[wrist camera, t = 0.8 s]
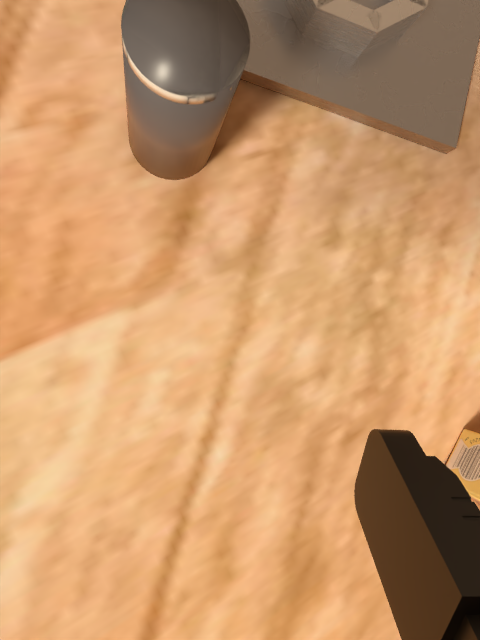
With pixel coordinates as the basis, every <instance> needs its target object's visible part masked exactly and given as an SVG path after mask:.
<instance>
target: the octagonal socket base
mask: <svg viewBox="0 0 480 640" xmlns="http://www.w3.org/2000/svg"><path fill="white" fill-rule="evenodd" d="M236 1H237V2H238V4H239V5H240V7H241V8H242V10H243V13H244V15H245V17H246V20H247V23H248V27H249V31H250V51H249V56H248V59H247V62H246V65H245V68H244V70H243V73H242V75H241V78H240V79H242V80H245V81H248V82H250V83H253V84H256V85H259V86H261V87H264V88H267V89H270V90H272V91H275V92H278V93H281V94H283V95H286V96H289V97H292V98H294V99H297V100H300V101H303V102H305V103H308V104H311V105H314V106H316V107H319V108H322V109H325V110H327V111H330V112H333V113H336V114H338V115H341V116H344V117H347V118H349V119H352V120H355V121H357V122H360V123H363V124H366V125H368V126H371V127H374V128H377V129H379V130H382V131H385V132H388V133H390V134H393V135H396V136H399V137H401V138H404V139H407V140H410V141H412V142H415V143H418V144H421V145H423V146H426V147H429V148H432V149H434V150H437V151H440V152H443V153H445V154H447V153H449V152H450V151H452V150H454V149H456V146H457V142H458V137H459V132H460V127H461V123H462V118H463V113H464V108H465V104H466V99H467V94H468V89H469V85H470V80H471V75H472V70H473V66H474V61H475V56H476V51H477V47H478V42H479V37H480V0H236Z"/></svg>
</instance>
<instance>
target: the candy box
mask: <svg viewBox="0 0 480 640" xmlns="http://www.w3.org/2000/svg"><path fill="white" fill-rule="evenodd" d="M446 466H447V467H448V468H449V469H450V470H451V471H452V472H454V473H455V474H456V475H457V476H458V478H459V479H460V481H461V483H462V484H463V486H464V487H465V489H466V490H467V492H468V493H469V495H470V496H471V500H472V501H474V502H475V503H477V504H478V505H480V433H477V432H473V431H470V430H467V429H463V431H462V433H461V435H460V437H459V439H458V441H457V443H456V445H455V447H454V449H453V451H452V453H451V455H450V457H449V459H448V461H447V464H446Z"/></svg>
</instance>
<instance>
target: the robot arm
mask: <svg viewBox="0 0 480 640" xmlns="http://www.w3.org/2000/svg"><path fill="white" fill-rule="evenodd" d="M355 505H356V510H357V514H358V517H359V520H360V523H361V525H362V528H363V531H364V534H365V537H366V540H367V542H368V545H369V548H370V551H371V554H372V557H373V559H374V562H375V565H376V568H377V571H378V574H379V576H380V579H381V582H382V585H383V588H384V591H385V593H386V596H387V599H388V602H389V605H390V608H391V610H392V613H393V616H394V619H395V622H396V625H397V627H398V630H399V633H400V636H401V639H402V640H480V510H479V509H478V507H477V506H476V504H475V503H474V502H472V501H471V496H470V495H469V493H468V492H467V490H466V489H465V487H464V486H463V484H462V483H461V481H460V479H459V478H458V476H457V475H456V474H455V473H454V472H452V471H451V470H450V469H449V468H448V467H447V466H446V465H444V464H443V463H442V462H441V461H440V460H439V459H438V458H437V457H435V456H426V455H425V453H424V452H423V450H422V448H421V447H420V445H419V443H418V442H417V440H416V438H415V436H414V435H413V434H412V433H411V432H410V431H407V430H380V429H374V430H372V431H371V432H370V434H369V436H368V439H367V443H366V446H365V450H364V453H363V457H362V461H361V464H360V468H359V471H358V475H357V479H356V483H355Z"/></svg>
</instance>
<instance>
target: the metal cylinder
mask: <svg viewBox="0 0 480 640" xmlns="http://www.w3.org/2000/svg"><path fill="white" fill-rule="evenodd" d="M121 29H122V44H123V58H124V73H125V88H126V103H127V118H128V132H129V143H130V147H131V150H132V152H133V154H134V156H135V158H136V159H137V161H138V162H139V163H140V165H141V166H142V167H143V168H145V169H146V170H147V171H148V172H150V173H151V174H153V175H155V176H157V177H160V178H164V179H169V180H180V179H185V178H188V177H190V176H193V175H194V174H196V173H197V172H199V171H200V170H201V169H202V168H203V167H204V166H205V164H206V163H207V161H208V159H209V157H210V155H211V152H212V150H213V147H214V145H215V142H216V140H217V137H218V134H219V132H220V129H221V127H222V124H223V122H224V119H225V117H226V114H227V111H228V109H229V106H230V104H231V101H232V99H233V96H234V93H235V91H236V88H237V86H238V83H239V81H240V78H241V75H242V73H243V70H244V68H245V65H246V62H247V59H248V56H249V51H250V31H249V27H248V23H247V20H246V17H245V15H244V13H243V10H242V8H241V7H240V5H239V4H238V2H237V1H236V0H126V3H125V6H124V8H123V13H122V21H121Z"/></svg>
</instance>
